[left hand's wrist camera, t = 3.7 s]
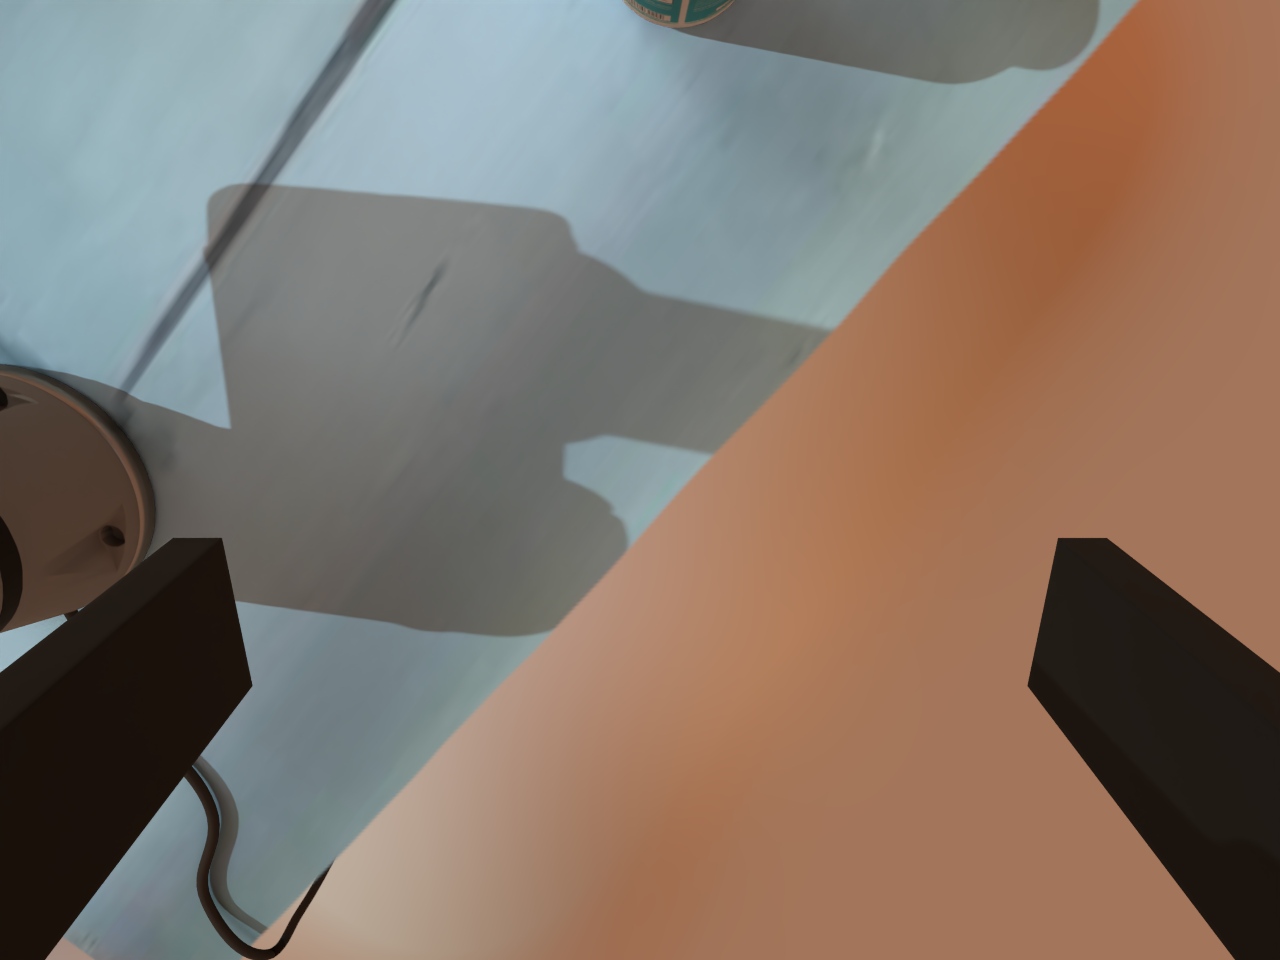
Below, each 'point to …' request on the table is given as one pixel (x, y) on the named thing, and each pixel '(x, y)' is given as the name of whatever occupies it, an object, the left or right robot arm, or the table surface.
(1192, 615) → the left robot arm
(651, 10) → the pill bottle
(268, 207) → the table surface
